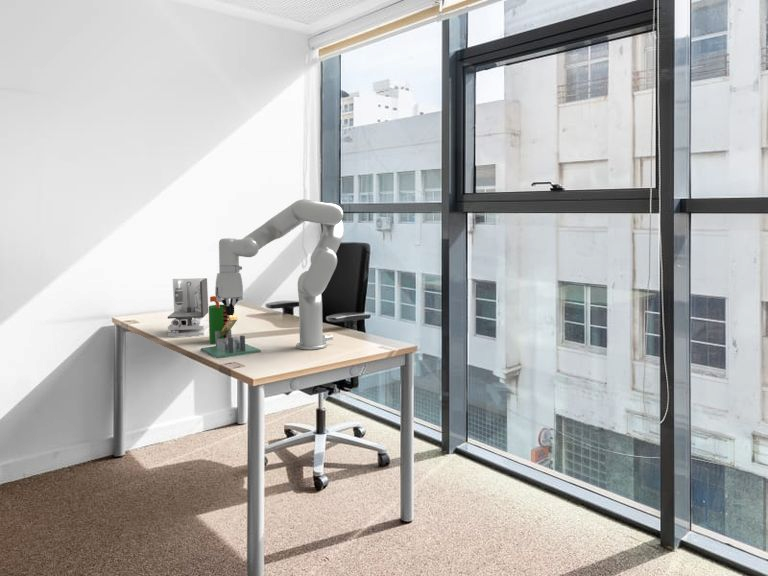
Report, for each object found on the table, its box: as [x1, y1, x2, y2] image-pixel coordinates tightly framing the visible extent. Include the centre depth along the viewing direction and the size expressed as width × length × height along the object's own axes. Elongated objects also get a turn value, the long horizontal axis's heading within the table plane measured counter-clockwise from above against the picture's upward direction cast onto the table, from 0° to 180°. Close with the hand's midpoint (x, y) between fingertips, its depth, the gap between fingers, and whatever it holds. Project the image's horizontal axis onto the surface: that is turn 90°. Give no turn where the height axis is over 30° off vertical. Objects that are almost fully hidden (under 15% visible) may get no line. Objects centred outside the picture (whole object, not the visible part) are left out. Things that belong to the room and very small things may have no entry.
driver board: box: [200, 334, 262, 359], centre depth 245 cm, size 18×18×7 cm
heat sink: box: [215, 329, 240, 352], centre depth 247 cm, size 8×12×6 cm, turn 36°
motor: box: [208, 295, 229, 345], centre depth 264 cm, size 10×9×20 cm
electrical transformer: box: [167, 277, 209, 337], centre depth 282 cm, size 16×19×25 cm
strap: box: [220, 314, 238, 336], centre depth 246 cm, size 3×14×2 cm
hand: (229, 315), depth 242 cm, fingers closed
